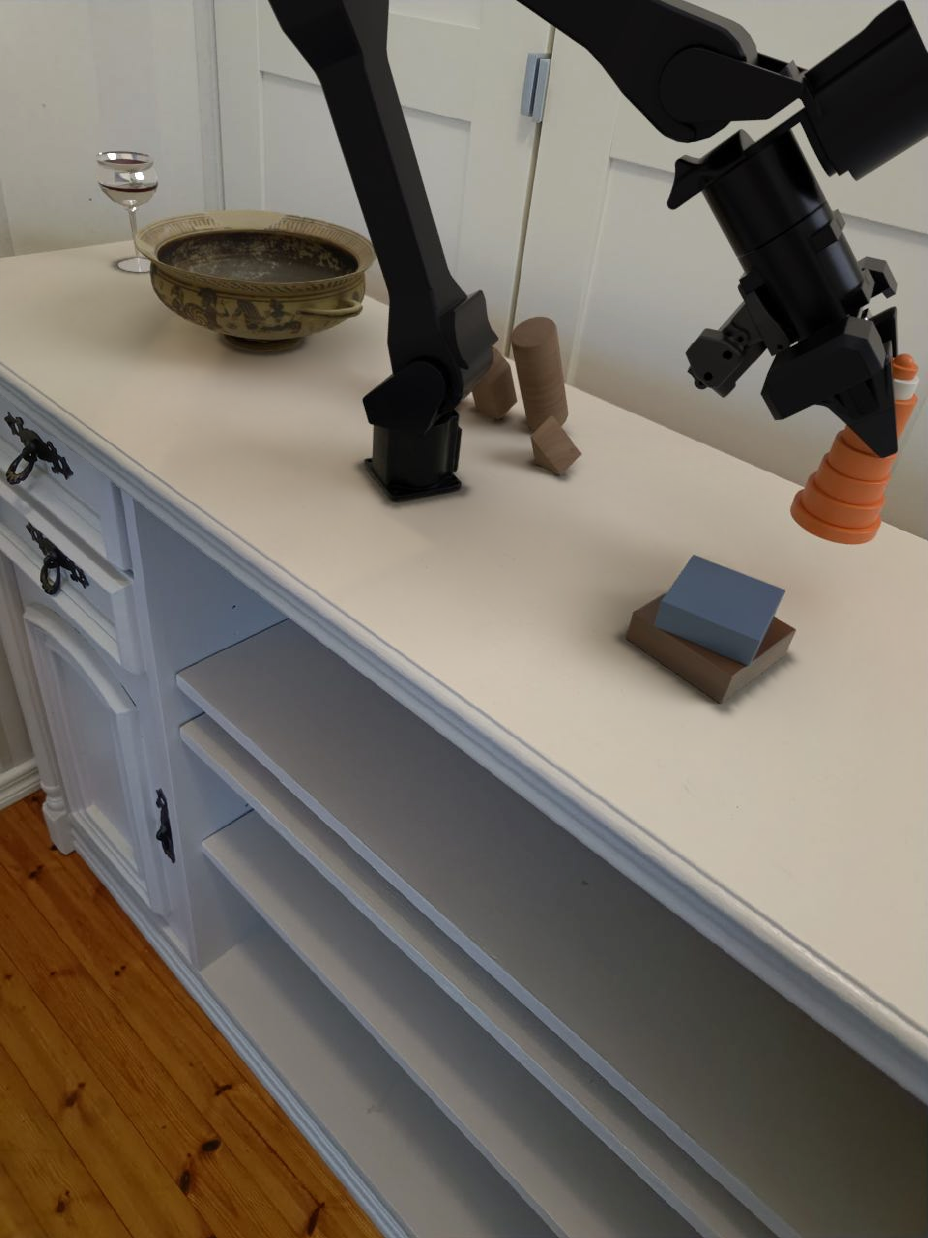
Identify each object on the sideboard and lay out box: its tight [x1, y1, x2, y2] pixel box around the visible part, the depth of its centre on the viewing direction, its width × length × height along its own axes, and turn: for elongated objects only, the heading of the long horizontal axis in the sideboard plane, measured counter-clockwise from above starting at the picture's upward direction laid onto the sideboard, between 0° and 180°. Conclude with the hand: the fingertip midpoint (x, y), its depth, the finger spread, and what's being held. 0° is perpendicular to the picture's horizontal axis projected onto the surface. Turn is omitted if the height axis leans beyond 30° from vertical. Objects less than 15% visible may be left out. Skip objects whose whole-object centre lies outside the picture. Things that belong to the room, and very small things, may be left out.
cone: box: [789, 353, 920, 546], centre depth 57 cm, size 6×6×12 cm
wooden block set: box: [471, 316, 582, 476], centre depth 78 cm, size 18×9×10 cm, turn 47°
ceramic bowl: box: [135, 209, 377, 352], centre depth 89 cm, size 30×24×10 cm
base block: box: [625, 591, 797, 704], centre depth 58 cm, size 8×8×2 cm
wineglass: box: [93, 150, 159, 273], centre depth 102 cm, size 7×7×12 cm
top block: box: [654, 554, 786, 666], centre depth 57 cm, size 7×7×2 cm
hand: (891, 443), depth 56 cm, fingers closed on cone, 3 cm apart
